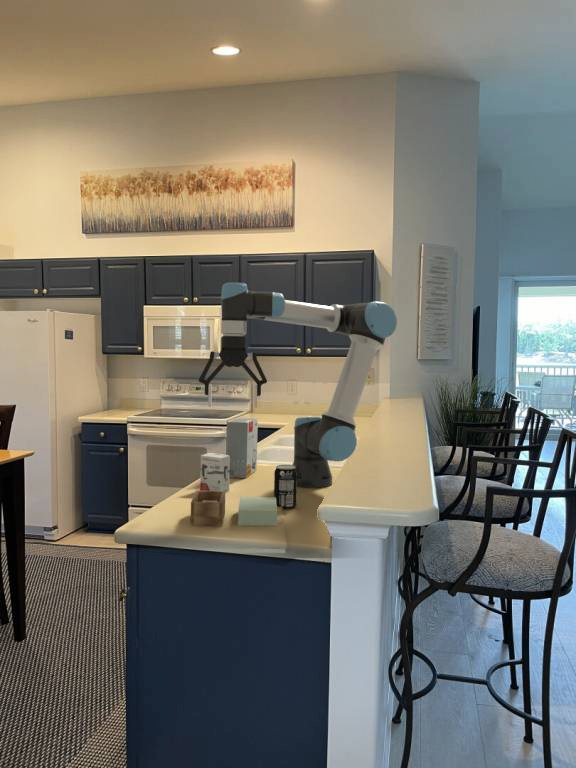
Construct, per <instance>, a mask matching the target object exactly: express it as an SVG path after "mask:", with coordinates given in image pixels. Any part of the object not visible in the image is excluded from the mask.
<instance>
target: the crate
mask: <svg viewBox="0 0 576 768" xmlns="http://www.w3.org/2000/svg"><path fill="white" fill-rule="evenodd" d="M203 500H218V502H202V501H203ZM225 515H226V492H225V491H200V490H195V493H194V495H193V496H192V500H191V502H190V528H191V527H192V528H193V527H195V528H196V527H197V528H198V527H199V528H201V527H202V528H209V527H210V528H223V524H224V520H225Z"/></svg>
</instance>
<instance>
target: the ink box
mask: <svg viewBox="0 0 576 768" xmlns="http://www.w3.org/2000/svg"><path fill="white" fill-rule="evenodd" d="M229 473H230V456H229V455H227V454H222V453H214V452H207V453H205V454H200V474H199V475H200V476H199V477H200V480H199V481H200V483H199V491H225V493H229V492H230V477H229Z"/></svg>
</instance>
